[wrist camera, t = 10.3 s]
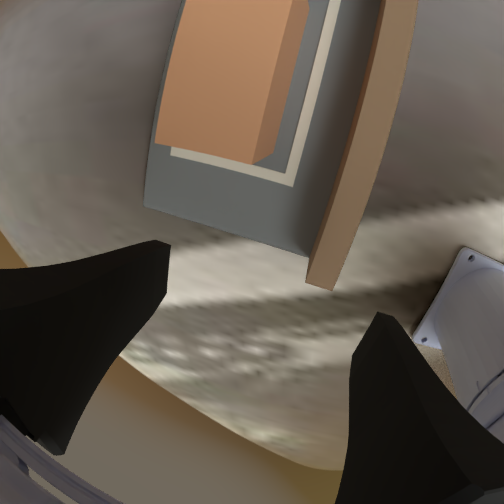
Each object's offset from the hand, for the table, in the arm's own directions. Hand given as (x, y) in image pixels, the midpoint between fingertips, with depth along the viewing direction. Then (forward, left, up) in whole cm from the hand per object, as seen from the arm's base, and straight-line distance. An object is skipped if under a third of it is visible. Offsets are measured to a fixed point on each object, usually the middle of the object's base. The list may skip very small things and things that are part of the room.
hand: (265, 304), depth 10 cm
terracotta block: (+4, -8, -9) cm, 13 cm away
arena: (+4, -8, -9) cm, 13 cm away
